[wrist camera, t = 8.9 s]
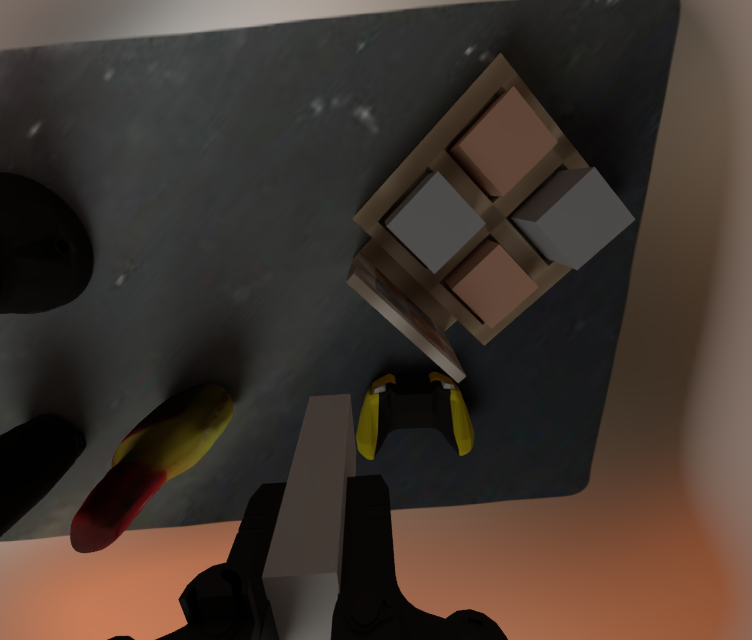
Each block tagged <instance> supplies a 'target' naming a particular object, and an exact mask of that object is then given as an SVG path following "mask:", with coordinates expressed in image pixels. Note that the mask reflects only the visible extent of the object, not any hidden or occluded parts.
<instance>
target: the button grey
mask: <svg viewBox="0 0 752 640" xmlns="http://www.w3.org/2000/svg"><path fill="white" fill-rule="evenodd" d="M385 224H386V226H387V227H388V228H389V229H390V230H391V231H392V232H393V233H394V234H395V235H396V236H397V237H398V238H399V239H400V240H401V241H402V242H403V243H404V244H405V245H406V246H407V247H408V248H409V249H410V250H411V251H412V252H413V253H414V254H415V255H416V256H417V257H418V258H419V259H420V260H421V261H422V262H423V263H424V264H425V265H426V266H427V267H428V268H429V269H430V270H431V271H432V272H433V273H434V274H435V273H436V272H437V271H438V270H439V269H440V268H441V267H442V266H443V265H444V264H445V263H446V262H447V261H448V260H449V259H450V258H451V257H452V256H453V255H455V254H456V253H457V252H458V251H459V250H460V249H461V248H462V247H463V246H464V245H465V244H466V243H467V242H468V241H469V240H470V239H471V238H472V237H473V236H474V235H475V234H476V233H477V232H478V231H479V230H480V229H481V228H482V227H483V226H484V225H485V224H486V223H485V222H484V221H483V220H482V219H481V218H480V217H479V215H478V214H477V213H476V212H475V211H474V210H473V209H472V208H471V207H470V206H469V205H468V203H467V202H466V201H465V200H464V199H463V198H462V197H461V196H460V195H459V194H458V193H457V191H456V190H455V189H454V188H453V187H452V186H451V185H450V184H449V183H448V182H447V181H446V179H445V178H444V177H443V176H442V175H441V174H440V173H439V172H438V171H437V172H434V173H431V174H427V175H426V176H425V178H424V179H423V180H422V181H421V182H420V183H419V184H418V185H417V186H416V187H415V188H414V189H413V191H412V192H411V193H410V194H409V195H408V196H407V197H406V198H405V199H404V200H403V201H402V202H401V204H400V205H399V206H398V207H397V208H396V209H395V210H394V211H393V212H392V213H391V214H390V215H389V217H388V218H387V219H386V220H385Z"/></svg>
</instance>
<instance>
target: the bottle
mask: <svg viewBox="0 0 752 640" xmlns="http://www.w3.org/2000/svg"><path fill="white" fill-rule="evenodd" d="M232 415H233V404H232V400H231V396H230V394H229V393H228V392H227V391H226V389H225V388H223V387H222V386H219V385H216V384H214V383H205V384H201V385H198V386H195V387H192V388H190V389H188V390H185V391H183V392H180V393H178V394H176V395H174V396H172V397H170V398H169V399H167V400H166V401H165V402H163V403H162V404H161V405H159V406H158V407H157V408H156V409H155V410H153V411H152V412H151V413H150V414H149V415H148V416H147V417H146V418H144V419H143V420H142V421H141V422H140V423H139V424H138V425H137V426H136V427H135V428H134V429H133V430H132V431H131V432H130V433H129V434H128V435H127V436H126V437H125V438H124V440H123V441H122V442H121V444H120V445H119V447H118V449H117V450H116V452H115V454H114V456H113V459H112V469H110V470H109V471H108V472H107V474H106V475H105V477H104V478H103V479H102V480H101V481H100V482H99V483H98V484H97V486H96V487H95V488H94V489H93V490H92V491H91V493H90V494H89V496H88V497H87V498H86V500H85V501H84V503H83V505H82V506H81V508H80V509H79V510H78V512H77V513H76V515H75V517H74V519H73V521H72V525H71V532H70V540H71V545H72V547H73V548H74V549H75V551H77V552H80V553H90V552H95V551H99V550H102V549H104V548H106V547H107V546H109V545H110V544H111V543H113V542H114V541H115V540H116V539H117V538H118V537H119V536H120V535H121V534H122V533H123V532H124V531H125V530H126V529H127V528H128V526H129V525H130V524H131V522H132V521H133V519H134V518H135V517H136V516H137V515H138V514H139V512H140V511H141V510H142V508H143V507H144V506H145V504H146V503H147V502H148V500H149V499H150V498H151V497H152V496H153V495H154V494H155V493H156V492H157V491H158V490H159V489H160V487H161V486H162V485H163V484H164V483H165V482H166V481H168V480H169V479H171V478H172V477H174V476H177V475H179V474H181V473H182V472H184V471H186V470H187V469H189V468H191V467H192V466H193V465H194V464H195V463H197V462H198V461H199V460H200V459H201V458H202V457H203V456H204V455H205V454H206V453H207V451H208V450H209V449H210V448H211V446H212V445H213V444H214V443H215V441H216V440H217V439H218V437H219V436H220V435H221V434H222V432H223V431H224V429H225V428H226V426H227V425H228V423H229V422H230V420H231V419H232Z"/></svg>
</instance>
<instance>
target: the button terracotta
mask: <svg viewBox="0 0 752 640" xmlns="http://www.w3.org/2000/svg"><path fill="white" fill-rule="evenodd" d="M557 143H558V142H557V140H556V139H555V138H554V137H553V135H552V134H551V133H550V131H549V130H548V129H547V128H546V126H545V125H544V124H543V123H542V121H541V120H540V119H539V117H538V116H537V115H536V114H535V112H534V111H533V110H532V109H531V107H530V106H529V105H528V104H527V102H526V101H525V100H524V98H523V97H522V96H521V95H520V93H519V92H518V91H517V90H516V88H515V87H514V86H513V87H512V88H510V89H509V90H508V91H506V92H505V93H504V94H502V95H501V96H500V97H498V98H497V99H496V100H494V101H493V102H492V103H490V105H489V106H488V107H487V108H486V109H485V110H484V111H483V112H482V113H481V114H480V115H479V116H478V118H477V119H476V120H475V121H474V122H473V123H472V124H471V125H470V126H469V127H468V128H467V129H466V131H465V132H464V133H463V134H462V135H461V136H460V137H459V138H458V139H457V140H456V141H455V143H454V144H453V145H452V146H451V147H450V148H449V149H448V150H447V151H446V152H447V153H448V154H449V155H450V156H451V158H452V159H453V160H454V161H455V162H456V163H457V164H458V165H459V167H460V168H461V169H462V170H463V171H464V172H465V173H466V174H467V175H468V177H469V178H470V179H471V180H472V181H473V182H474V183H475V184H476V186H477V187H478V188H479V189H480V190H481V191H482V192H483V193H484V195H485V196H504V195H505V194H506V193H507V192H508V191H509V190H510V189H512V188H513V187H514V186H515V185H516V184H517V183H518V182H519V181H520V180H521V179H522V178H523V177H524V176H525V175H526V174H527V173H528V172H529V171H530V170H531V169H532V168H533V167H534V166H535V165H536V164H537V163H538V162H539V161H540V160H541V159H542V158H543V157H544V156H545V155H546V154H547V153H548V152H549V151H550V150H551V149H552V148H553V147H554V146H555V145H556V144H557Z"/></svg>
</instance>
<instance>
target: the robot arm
mask: <svg viewBox="0 0 752 640" xmlns="http://www.w3.org/2000/svg"><path fill="white" fill-rule="evenodd" d="M92 265H93V259H92V250H91V246H90V242H89V239H88V236H87V234H86V232H85V230H84V228H83V226H82V224H81V222H80V221H79V219H78V218H77V216H76V215H75V213H74V212H73V211H72V210H71V209H70V207H69V206H68V205H67V204H66V203H65V202H64V201H63V200H62V199H61V198H60V197H59V196H57V195H56V194H55V193H54V192H52V191H51V190H49V189H48V188H46V187H45V186H43V185H41V184H40V183H38V182H36V181H34V180H31V179H29V178H27V177H24V176H21V175H17V174H12V173H5V172H0V314H9V313H16V314H34V313H40V312H45V311H49V310H52V309H54V308H57V307H60V306H63V305H65V304H68V303H70V302H71V301H73V300H74V299H76V298H77V297H78V296H79V295H80V294H81V293H82V292H83V291H84V289H85V288H86V286H87V284H88V282H89V280H90V277H91V273H92ZM355 469H356V447H355V437H354V428H353V418H352V408H351V398H350V394H342V395H327V396H313V397H310V398H309V402H308V406H307V410H306V413H305V417H304V421H303V425H302V428H301V432H300V436H299V440H298V443H297V447H296V451H295V455H294V458H293V462H292V466H291V470H290V474H289V477H288V481H287V482H284V483H270V484H262V485H261V486H260V487H259V489H258V490H257V491H256V492H255V493H254V495H253V496H252V497H251V498H250V500H249V503H248V505H247V508H246V511H245V513H244V519H242V522H241V524H240V527H239V532H238V533H237V535H236V538H235V540H234V543H233V546H232V549H231V551H230V554H229V557H228V559H227V562H226V563H222V564H218V565H214V566H212V567H210V568H208V569H207V570H205V571H203V572H201V573H200V574H198V575H197V576H196V577H195V578H194V579H193V580H192V581H191V582H190V583H189V584H188V585H187V587H186V588H185V590H184V591H183V593H182V594H181V596H180V598H179V602H180V605H181V607H182V610H183V612H184V615H185V618H186V620H187V622H188V624H187V625H186V626H184V627H182V628H180V629H178V630H176V631H175V632H172V633H170V634H168V635H165V636H163V637H161V638H158V639H156V640H508V639H507V637H506V636H505V634H504V633H503V631H502V630H501V629H500V627H499V626H498V625H497V623H496V622H494V621H493V620H492V619H490V618H489V617H488V616H486V615H485V614H483V613H480V612H477V611H474V610H471V609H468V610H460V611H456V612H455V613H453V614H452V615H450V616H449V617H447V618H446V619H444V618H442V617H439V616H436V615H432V614H429V613H426V612H424V611H422V610H420V609H417V608H415V607H414V606H413V605H412V604H411V603H409V602H408V601H407V600H406V598H405V597H404V596H403V594H402V593H401V591H400V589H399V587H398V585H397V580H396V575H395V563H394V550H393V538H392V524H391V513H390V512H391V511H390V498H389V488H388V486H387V484H386V483H385V481H384V479H383V478H382V476H381V475H368V476H355ZM108 640H134V639H133V638H131V637H130V636H115V637H113V638H110V639H108Z"/></svg>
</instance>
